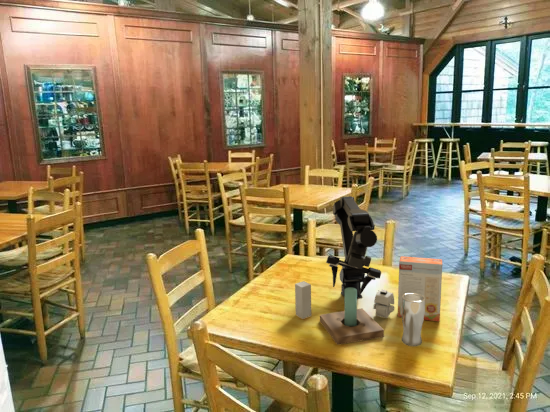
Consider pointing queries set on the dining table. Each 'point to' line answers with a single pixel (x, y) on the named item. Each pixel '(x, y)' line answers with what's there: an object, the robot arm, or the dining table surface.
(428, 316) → the cracker box
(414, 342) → the beer glass
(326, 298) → the dining table surface
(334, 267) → the robot arm
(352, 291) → the round dowel
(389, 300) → the white blocky figure
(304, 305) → the square dowel
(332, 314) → the socket board
